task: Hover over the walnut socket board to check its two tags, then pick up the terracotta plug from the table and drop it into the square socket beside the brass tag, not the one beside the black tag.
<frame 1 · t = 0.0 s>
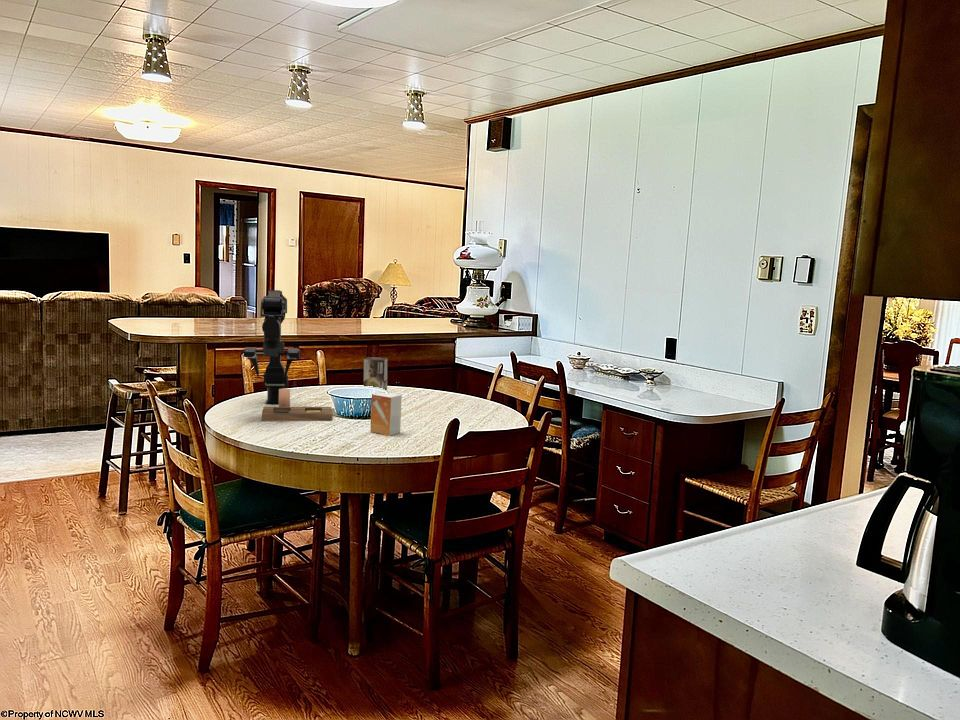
hand: (271, 377, 258), 15 cm above the table, fingers open, 9 cm apart
coffee box: (375, 396, 311), on the table
small box: (385, 433, 248), on the table
socket board: (297, 416, 264), on the table
plug: (284, 410, 274), on the table
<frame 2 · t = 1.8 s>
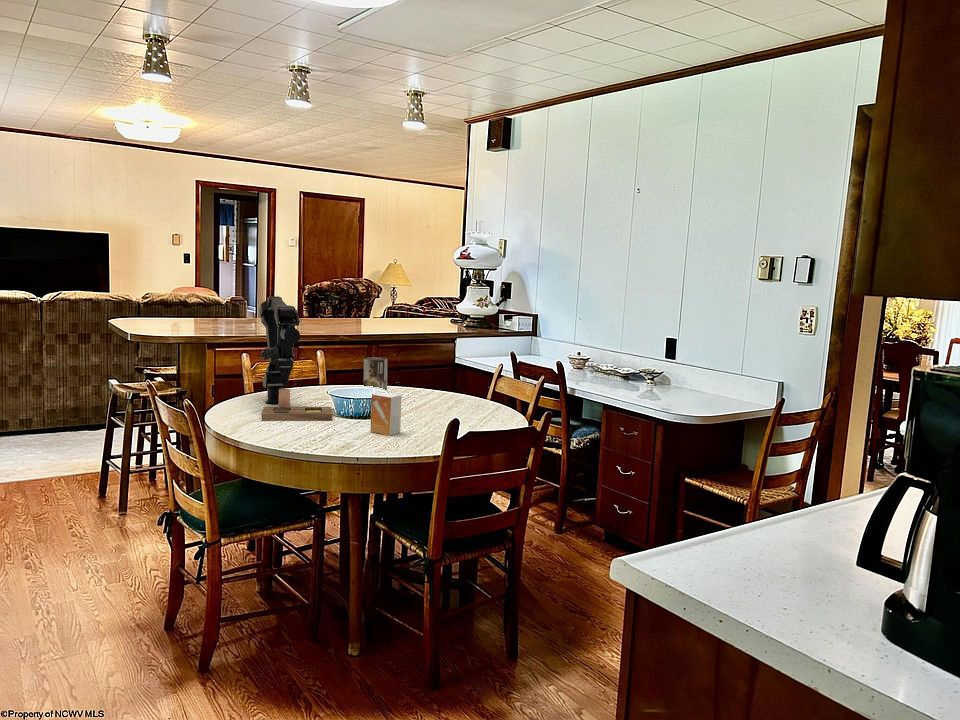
hand: (284, 382, 272), 11 cm above the table, fingers open, 9 cm apart
nothing on the table moved.
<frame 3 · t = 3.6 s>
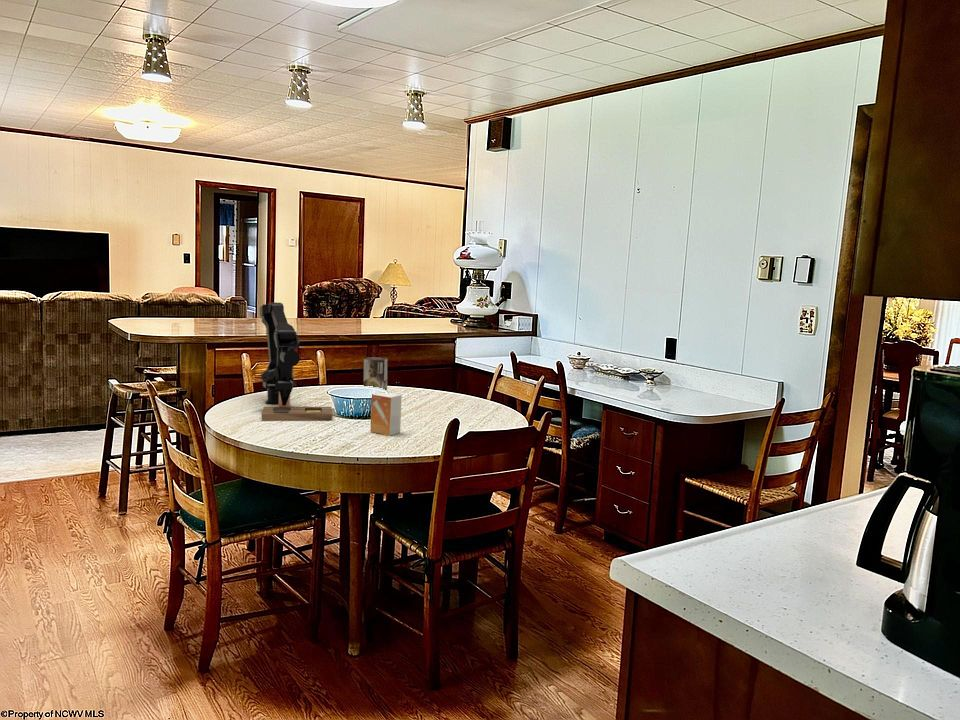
hand: (284, 404, 273), 2 cm above the table, fingers closed on plug, 4 cm apart
plug: (284, 410, 274), on the table, touching gripper
everything else where it was.
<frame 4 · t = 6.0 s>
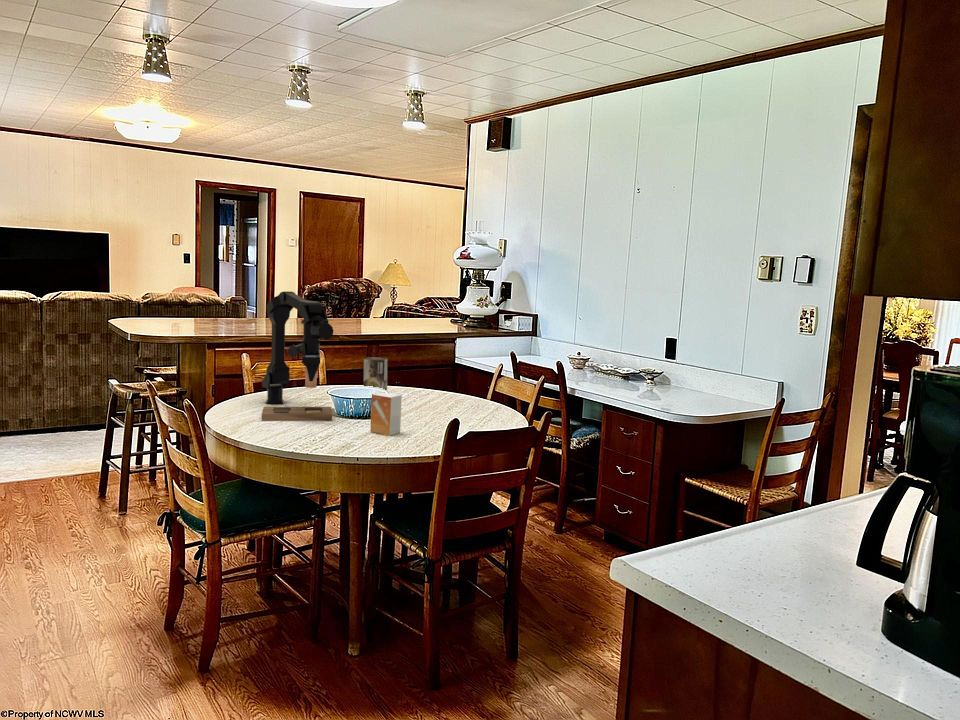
hand: (311, 380, 265), 13 cm above the table, fingers closed on plug, 4 cm apart
plug: (310, 387, 265), point 11 cm above the table, touching gripper
everything else where it was.
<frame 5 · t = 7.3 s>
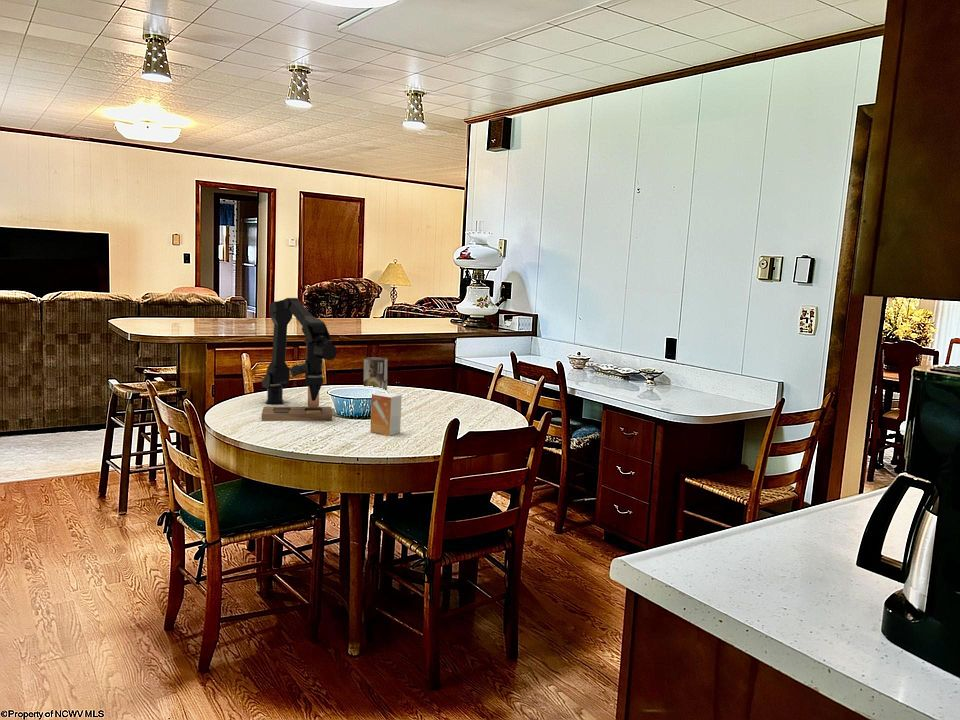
hand: (313, 399, 266), 6 cm above the table, fingers closed on plug, 4 cm apart
plug: (313, 406, 266), point 4 cm above the table, touching gripper
everything else where it was.
when the fingers open (4 cm above the table, at t = 8.5 s): plug drops 2 cm, resting in socket board.
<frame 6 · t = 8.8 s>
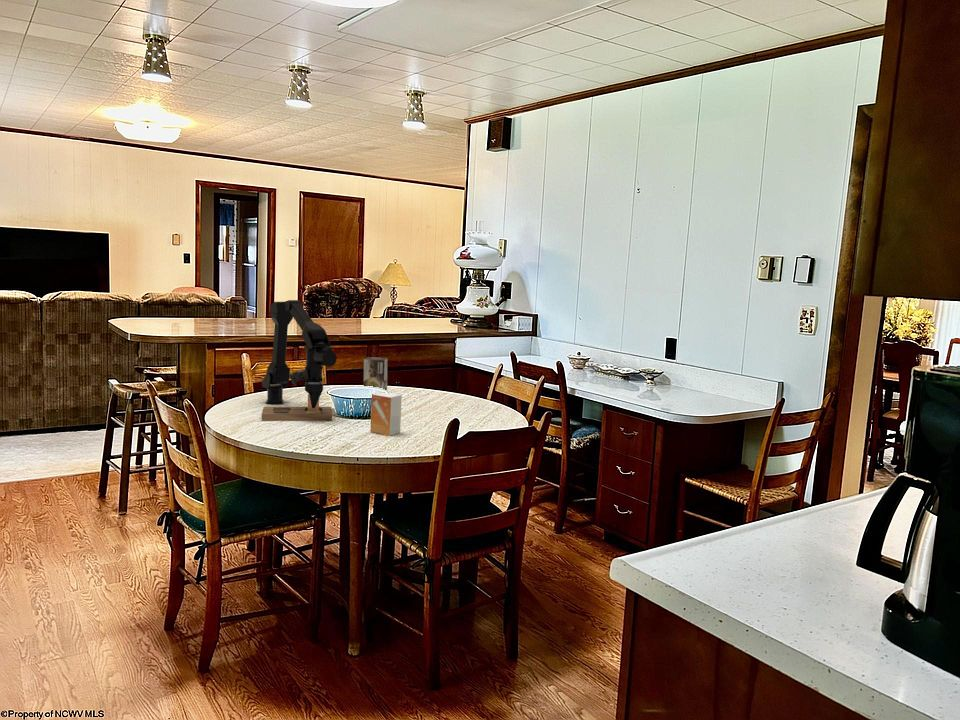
hand: (313, 405, 266), 4 cm above the table, fingers open, 7 cm apart
plug: (313, 416, 266), resting in socket board
everything else where it was.
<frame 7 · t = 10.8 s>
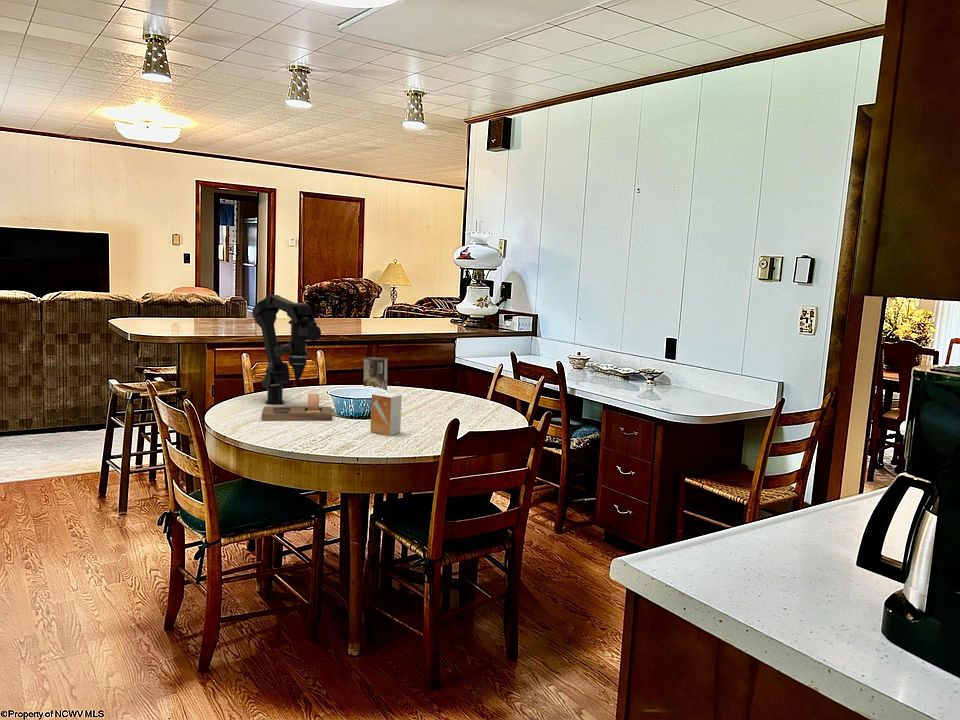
hand: (297, 378, 275), 12 cm above the table, fingers open, 9 cm apart
nothing on the table moved.
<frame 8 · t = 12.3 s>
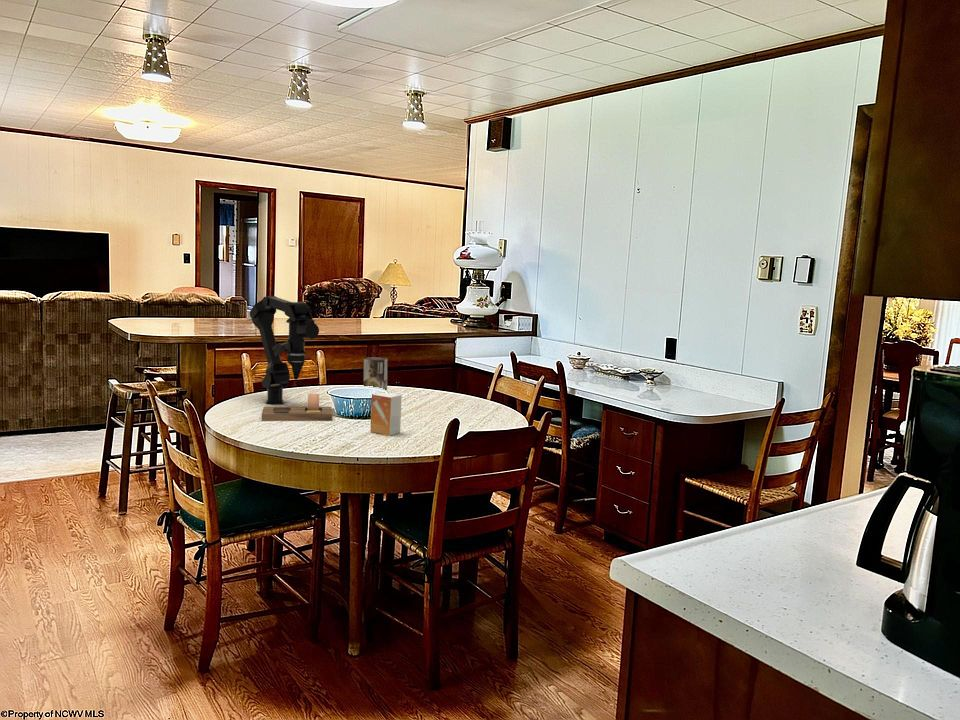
hand: (296, 377, 276), 12 cm above the table, fingers open, 9 cm apart
nothing on the table moved.
at the end: plug 0.1 cm from the target spot on the socket board, point 0.0 cm above the socket board's base; plug tilted 0°; the gripper is holding nothing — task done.
